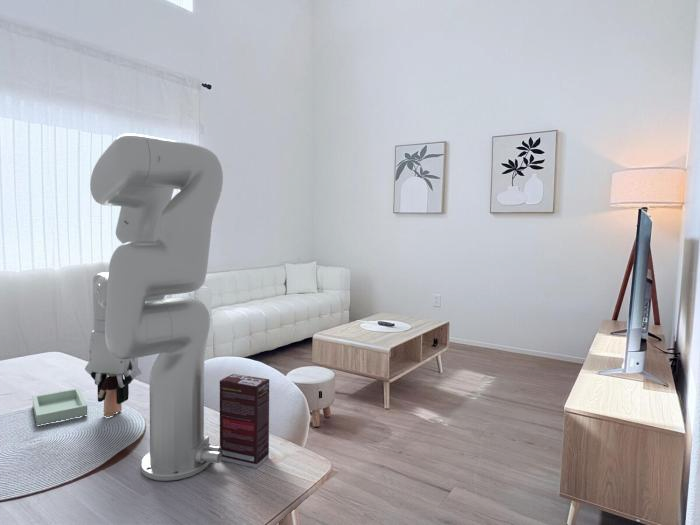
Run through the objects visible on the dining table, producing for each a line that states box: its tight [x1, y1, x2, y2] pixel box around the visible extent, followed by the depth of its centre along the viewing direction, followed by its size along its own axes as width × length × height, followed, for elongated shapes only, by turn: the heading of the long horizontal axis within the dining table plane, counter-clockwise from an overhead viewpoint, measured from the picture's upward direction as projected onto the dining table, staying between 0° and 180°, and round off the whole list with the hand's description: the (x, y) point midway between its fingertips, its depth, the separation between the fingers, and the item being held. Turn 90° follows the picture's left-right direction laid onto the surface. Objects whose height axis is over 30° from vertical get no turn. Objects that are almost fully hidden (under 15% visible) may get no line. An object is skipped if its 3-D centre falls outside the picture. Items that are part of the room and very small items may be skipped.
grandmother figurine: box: [97, 374, 123, 417], centre depth 103 cm, size 8×4×13 cm, turn 179°
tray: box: [32, 387, 88, 426], centre depth 104 cm, size 14×10×3 cm
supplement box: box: [219, 373, 270, 469], centre depth 85 cm, size 9×5×16 cm, turn 70°
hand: (113, 399), depth 103 cm, fingers open, 4 cm apart
